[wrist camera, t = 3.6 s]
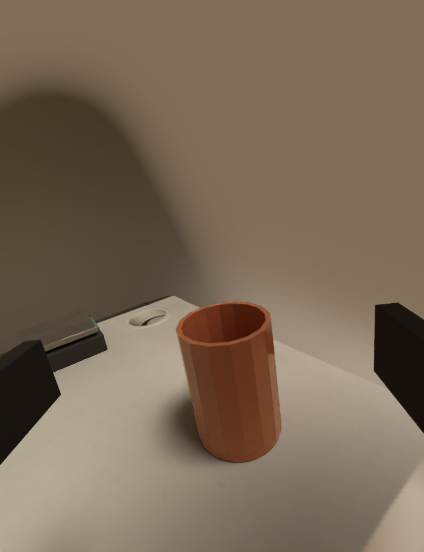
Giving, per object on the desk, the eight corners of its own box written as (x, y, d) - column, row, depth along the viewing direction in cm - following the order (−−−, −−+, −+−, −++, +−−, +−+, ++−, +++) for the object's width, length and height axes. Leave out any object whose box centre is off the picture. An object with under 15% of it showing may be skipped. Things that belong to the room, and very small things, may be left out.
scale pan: (85, 313, 47) (84, 309, 47) (98, 331, 39) (96, 326, 39) (19, 336, 42) (17, 331, 42) (17, 362, 34) (14, 356, 34)
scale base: (93, 327, 49) (88, 312, 48) (107, 349, 40) (102, 331, 39) (22, 352, 43) (15, 336, 42) (20, 385, 34) (12, 365, 34)
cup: (258, 385, 28) (247, 295, 25) (298, 442, 21) (289, 327, 18) (191, 408, 26) (171, 314, 23) (210, 477, 19) (185, 357, 17)
